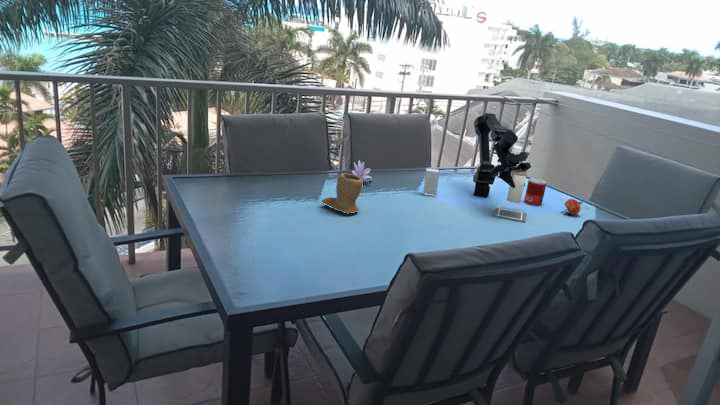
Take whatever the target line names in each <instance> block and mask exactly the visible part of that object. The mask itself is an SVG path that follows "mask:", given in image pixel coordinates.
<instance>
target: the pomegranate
mask: <svg viewBox="0 0 720 405" xmlns="http://www.w3.org/2000/svg"><path fill="white" fill-rule="evenodd" d="M581 204H583V201H578V200H576V199H574V198H573V199H572V198H569V199H567V201H565V202H564V206H565V207H566V209H564V210H563V211H560V213H563V212H566V211H568V213H569V214H570V215H571V216H576V215H578V214H580V211H581V209H582V208H581Z"/></svg>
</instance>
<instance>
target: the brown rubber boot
mask: <svg viewBox="0 0 720 405" xmlns="http://www.w3.org/2000/svg"><path fill="white" fill-rule="evenodd" d="M363 182H364V180H363V179H361V178H360V177H358V176H356V175H354V174H353V173H346V172H343V173H341V174H339V175H338V176H337V182H336V197H326V198H324V199H322V200H321V201H320V203H321V202H323V203H325V204H327V205H329V206H331V207H333V208H335V209H337V210H339V211H341V212H345V213H351V212H356V211H358V210H359V211H360V208H359V207H358V206H357V204H356V203H357V202H356V201H357V200H358V198H359V195H360V194H361V192H362V188H363ZM359 211H358V212H359ZM341 212H340V213H341Z"/></svg>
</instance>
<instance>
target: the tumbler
mask: <svg viewBox="0 0 720 405" xmlns="http://www.w3.org/2000/svg"><path fill="white" fill-rule="evenodd" d="M527 174H528V172H527V171H523V170H517V169H514V170H512V171H511V176H512V179H513V181H514V184H515V188H512V187H511V186H510V185H509V187H508V190H507V191H508V193H507V198H506V201H508V202H510V203H513V204H519V203H521V201H522V195H523V191H524V187H525V186H524V183H525V184H526V178H527Z"/></svg>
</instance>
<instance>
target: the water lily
mask: <svg viewBox="0 0 720 405" xmlns="http://www.w3.org/2000/svg"><path fill="white" fill-rule="evenodd" d="M353 165H354V169H353V170H351V174H352V175H355V176H358V177H360V178H361V179H362V180H363V182H365V180H364V179H366V178H370V179H372V176H370V175H368V174H370V172H371V168H369V167H368V168H365V161H362V162H361V160H360V159H359V160H358V162H357V163H356V162H353ZM366 180H367V179H366Z"/></svg>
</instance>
